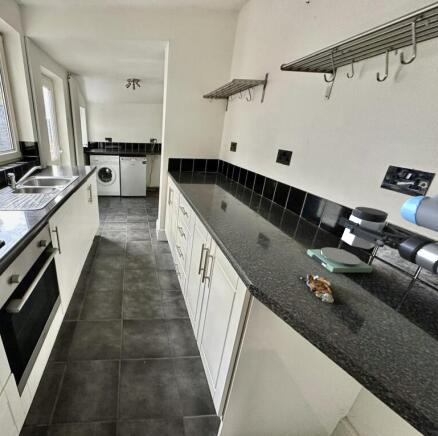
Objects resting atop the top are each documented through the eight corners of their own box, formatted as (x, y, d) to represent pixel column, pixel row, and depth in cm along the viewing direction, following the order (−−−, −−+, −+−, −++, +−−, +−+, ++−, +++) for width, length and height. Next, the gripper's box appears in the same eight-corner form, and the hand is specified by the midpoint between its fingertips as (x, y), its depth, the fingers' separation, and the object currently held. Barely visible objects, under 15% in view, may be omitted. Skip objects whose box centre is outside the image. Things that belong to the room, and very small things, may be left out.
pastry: (318, 303, 68) (322, 293, 67) (298, 278, 79) (301, 269, 78) (343, 305, 67) (348, 296, 66) (319, 280, 78) (323, 271, 77)
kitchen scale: (340, 254, 95) (343, 249, 94) (370, 273, 83) (373, 267, 82) (305, 254, 94) (307, 249, 93) (330, 273, 82) (333, 268, 81)
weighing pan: (340, 249, 93) (341, 247, 93) (368, 266, 82) (369, 264, 82) (312, 249, 93) (313, 247, 92) (336, 266, 82) (337, 264, 81)
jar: (365, 251, 75) (381, 217, 70) (337, 240, 81) (349, 208, 77) (378, 245, 79) (393, 213, 74) (350, 235, 85) (362, 205, 81)
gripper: (384, 266, 62) (320, 230, 83) (455, 265, 63) (375, 230, 84) (397, 241, 59) (327, 210, 80) (471, 241, 60) (383, 210, 81)
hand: (352, 220), depth 82 cm, fingers closed on jar, 8 cm apart
